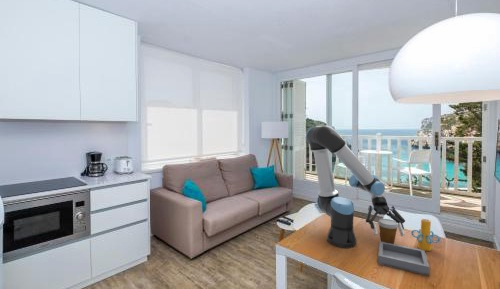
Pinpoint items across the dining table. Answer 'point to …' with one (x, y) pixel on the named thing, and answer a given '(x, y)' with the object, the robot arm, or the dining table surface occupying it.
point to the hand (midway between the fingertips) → (389, 235)
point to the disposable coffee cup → (387, 230)
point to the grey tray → (403, 258)
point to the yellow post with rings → (425, 236)
